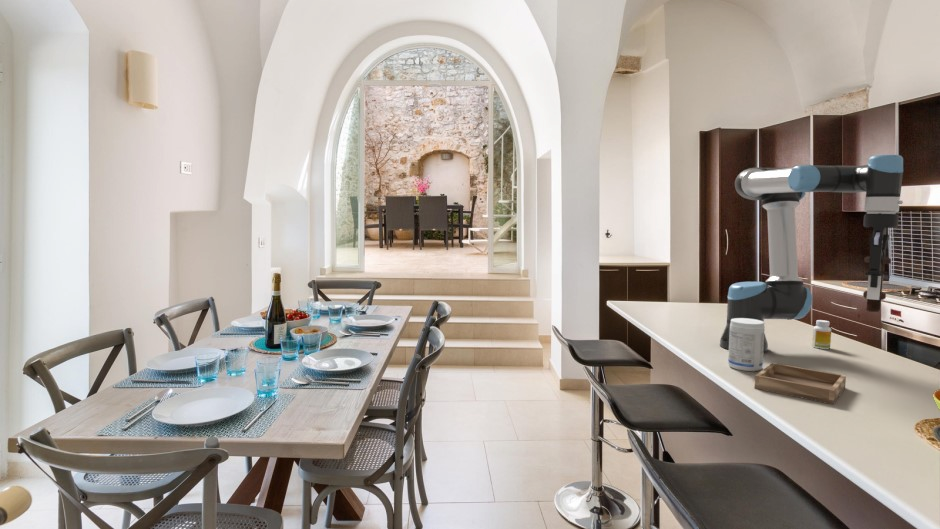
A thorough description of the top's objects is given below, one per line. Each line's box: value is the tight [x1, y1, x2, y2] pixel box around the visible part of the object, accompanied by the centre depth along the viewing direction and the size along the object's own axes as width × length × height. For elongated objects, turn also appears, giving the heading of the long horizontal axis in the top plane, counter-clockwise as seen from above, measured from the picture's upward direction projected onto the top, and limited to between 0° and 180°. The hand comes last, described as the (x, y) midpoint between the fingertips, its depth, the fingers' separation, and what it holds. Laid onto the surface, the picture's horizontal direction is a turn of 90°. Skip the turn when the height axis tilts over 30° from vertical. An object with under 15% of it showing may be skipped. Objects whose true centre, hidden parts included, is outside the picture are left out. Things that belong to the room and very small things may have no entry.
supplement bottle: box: [811, 319, 832, 350], centre depth 193 cm, size 5×5×10 cm
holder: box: [753, 362, 847, 405], centre depth 147 cm, size 18×18×4 cm
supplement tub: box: [727, 318, 765, 372], centre depth 166 cm, size 10×10×15 cm
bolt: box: [862, 256, 892, 313], centre depth 148 cm, size 6×5×15 cm
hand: (874, 298), depth 149 cm, fingers closed on bolt, 4 cm apart
